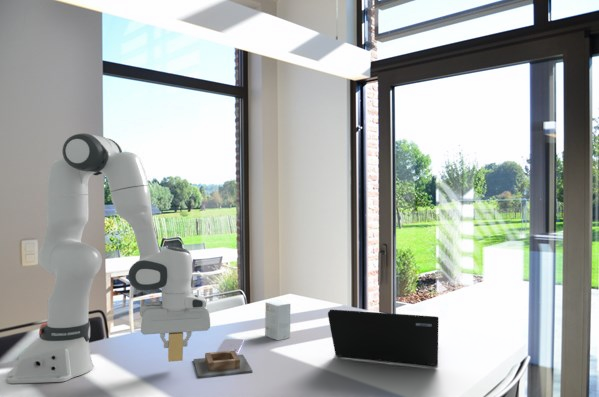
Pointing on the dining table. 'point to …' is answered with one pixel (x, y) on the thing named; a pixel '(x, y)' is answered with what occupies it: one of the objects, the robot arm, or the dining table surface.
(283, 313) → the small box
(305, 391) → the dining table surface
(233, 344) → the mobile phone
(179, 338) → the plug block
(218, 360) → the socket board
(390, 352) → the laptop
